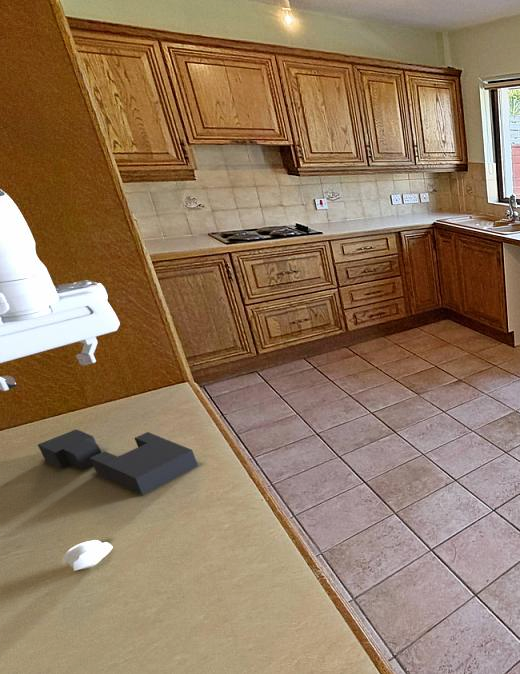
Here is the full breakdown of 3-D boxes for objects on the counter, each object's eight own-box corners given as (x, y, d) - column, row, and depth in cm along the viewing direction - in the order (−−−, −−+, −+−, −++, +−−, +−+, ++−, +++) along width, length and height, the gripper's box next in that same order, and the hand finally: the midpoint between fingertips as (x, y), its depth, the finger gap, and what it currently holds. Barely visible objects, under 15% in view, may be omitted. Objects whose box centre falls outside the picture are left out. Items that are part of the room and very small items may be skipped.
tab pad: (45, 461, 80) (37, 444, 79) (84, 445, 85) (76, 428, 83) (74, 475, 78) (66, 458, 76) (112, 457, 82) (105, 441, 80)
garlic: (70, 584, 60) (119, 561, 64) (63, 565, 59) (113, 542, 62) (58, 563, 62) (106, 542, 66) (51, 545, 61) (100, 524, 65)
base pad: (97, 475, 78) (89, 457, 77) (154, 448, 85) (147, 431, 83) (142, 496, 74) (135, 478, 73) (198, 466, 81) (192, 449, 80)
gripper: (89, 274, 81) (118, 347, 86) (-109, 311, 63) (-56, 400, 69) (111, 279, 79) (139, 354, 84) (-86, 319, 61) (-34, 410, 67)
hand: (50, 375), depth 76 cm, fingers open, 8 cm apart
